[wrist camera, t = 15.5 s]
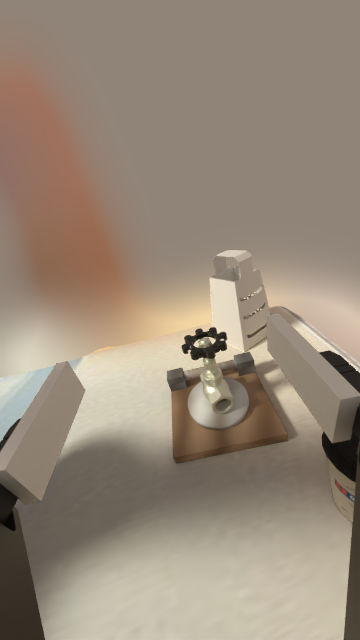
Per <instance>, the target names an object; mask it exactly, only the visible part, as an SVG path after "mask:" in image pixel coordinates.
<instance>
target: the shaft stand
mask: <svg viewBox="0 0 360 640" xmlns="http://www.w3.org/2000/svg"><path fill="white" fill-rule="evenodd" d="M216 366H217V367H218V368H220V369H221V371H222V375H223V379H225V380H226V382H227V383H228V385H229V390H230V393H231V394H232V396H233V400H234V406H233V408H232V409H230V410H229V411H228V412H226V413H214V412H213V409H212V407H211V404H210V402H209V401H208V400H207V399H206V397H205V396H204V393H203V385H202V382H201V378H200V375H201V374H202V373H203V371H204V370H205V367H200V368H196V369H192V370H188V371H183V368H179V369H174V370H170V371H167V381H168V384H169V386H170V389H171V392H172V432H173V458H174V460H175V463H180V462H185V461H190V460H195V459H200V458H205V457H209V456H214V455H219V454H224V453H229V452H234V451H239V450H244V449H249V448H254V447H259V446H264V445H268V444H273V443H278V442H283V441H288V435H287V432H286V430H285V428H284V426H283V424H282V422H281V421H280V419H279V417H278V415H277V413H276V411H275V409H274V407H273V405H272V403H271V401H270V399H269V398H268V396H267V394H266V392H265V390H264V388H263V386H262V384H261V382H260V380H259V378H258V376H257V374H256V373H255V365H254V359H253V357H252V355H251V354H250V352H247V353H243V354H238V355H234V360H230V361H226V362H222V363H218V364H216Z"/></svg>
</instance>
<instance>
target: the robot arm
mask: <svg viewBox="0 0 360 640" xmlns="http://www.w3.org/2000/svg"><path fill="white" fill-rule="evenodd" d="M266 320H267V346H268V351H269V353H270V354H271V355H272V357H273V358H274V360H275V361H276V363H277V364H278V366H279V367H280V368H281V370H282V371H283V373H284V374H285V376H286V377H287V379H288V380H289V382H290V383H291V384H292V386H293V387H294V389H295V390H296V392H297V393H298V395H299V396H300V397H301V399H302V400H303V402H304V403H305V405H306V406H307V408H308V409H309V411H310V412H311V413H312V415H313V416H314V418H315V419H316V421H317V422H318V424H319V425H320V427H321V428H322V429H323V431H324V432H325V434H326V435H327V437H328V438H329V440H330V441H331V442H332V443H336V442H341V441H346V440H350V439H351V435H352V431H353V432H354V434H355V435H356V436H357V437H358V439H359V440H360V373H359V372H358V371H356V369H355V368H354V367H352V366H351V365H349V363H348V362H347V361H346V360H345V359H343V358H342V357H341V356H340V355H338V354H336V353H334V352H331V351H325V352H320V353H319V352H318V351H317V350H316V349H315V348H314V347H313V346H311V345H310V344H309V343H308V342H307V341H306V340H305V339H304V338H303V337H302V336H301V335H300V334H299V333H298V332H297V331H296V330H295V329H294V328H293V327H292V326H291V325H290V324H289V323H288V322H287V321H286V320H285V319H284V318H283V317H282V316H281V315H280V314H279V313H275V314H270V315H266ZM84 393H85V389H84V387H83V386H82V384H81V382H80V381H79V379H78V377H77V376H76V374H75V373H74V371H73V369H72V368H71V366H70V364H69V363H68V361H66V362H62V363H57V364H56V365H55V367H54V368H53V370H52V371H51V373H50V374H49V376H48V378H47V379H46V381H45V382H44V384H43V386H42V387H41V389H40V390H39V392H38V393H37V395H36V397H35V398H34V400H33V401H32V403H31V404H30V406H29V408H28V409H27V411H26V412H25V414H24V415H23V417H22V418H21V419H18V420H17V421H16V422H15V423H14V424H13V425H12V426H11V427H10V429H9V430H8V432H7V433H6V435H5V436H4V438H3V440H2V441H1V442H0V640H45V637H44V632H43V627H42V623H41V618H40V613H39V609H38V604H37V599H36V594H35V590H34V585H33V580H32V576H31V571H30V566H29V561H28V557H27V552H26V547H25V542H24V538H23V533H22V528H21V524H20V519H19V514H18V511H17V509H16V508H15V507H14V506H15V504H16V501H17V499H19V500H21V501H22V502H23V503H24V504H30V503H35V502H40V501H42V498H43V496H44V493H45V491H46V488H47V486H48V483H49V481H50V478H51V476H52V473H53V471H54V468H55V466H56V463H57V461H58V458H59V456H60V453H61V451H62V448H63V446H64V443H65V441H66V438H67V435H68V433H69V430H70V428H71V425H72V423H73V420H74V418H75V415H76V413H77V410H78V408H79V405H80V403H81V400H82V398H83V395H84ZM356 454H357V455H358V459H357V472H356V485H355V498H354V511H353V525H352V538H351V551H350V564H349V577H348V591H347V604H346V617H345V630H344V640H360V441H359V444H358V448H357V451H356Z"/></svg>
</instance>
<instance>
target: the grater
mask: <svg viewBox="0 0 360 640" xmlns="http://www.w3.org/2000/svg"><path fill="white" fill-rule="evenodd" d="M226 257H235V258H236V259H237V260H238V262H239V266H232V267H230V268H228V269H227V263H226ZM213 262H214V267H215V273H216V275H214V276H212V277H210V294H211V316H212V327H215V328H216V329H217V334H219V333H220V332H226V334H227V340H226V344H228V345H230V346H232V347H234V348H236V349H238V350H240V351H242V352H244V353H245V352H246V351H247V350H249V349H250V348H251V347H253V346H254V345H255V344H257V343H258V342H259V341H261V340H262V339H263V338H265V337H266V336H267V320H266V315H270V310H269V306H268V302H267V298H266V294H265V290H264V286H263V282H262V278H261V274H260V269H259V268H253V263H252V256H251V254H250V253H249V252H248V251H237V250H227V251H225V252H222V253H221V254H218V255H216V256H215V257H214V260H213ZM240 274H241V277H240ZM255 291H256V293H253V292H255ZM257 291H259V293H257ZM251 294H253V295H254V296H251ZM248 295H250V296H248ZM245 297H249V299H247V298H246V299H244V298H245ZM257 309H259V310H258V311H257ZM260 309H262V310H260ZM254 311H256V312H257V313H256V314H255V312H254ZM251 313H252V316H251V315H250V314H251ZM253 314H254V315H253ZM248 316H250V318H249V317H248ZM262 326H264V327H265V328H264V329H262V330H261V331H260V332H258V333H257V334H256V335H254V336H253V337H251V338H248V335H251V334H253V333H254V332H255V331H257V330H258V329H260V328H261V327H262ZM247 334H248V335H247ZM221 340H224V339H221ZM221 340H220V341H221Z"/></svg>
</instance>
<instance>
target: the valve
mask: <svg viewBox="0 0 360 640" xmlns="http://www.w3.org/2000/svg"><path fill="white" fill-rule="evenodd" d="M195 333H196V335H195V336H191V335H187V336H185V337H184V339H185V343H186V344H183V345H182V350H183V353H184V354H188V350H191V352H190V354H191V358H192V359H193V360H197V359H199V358H202V357H203V358H204V359H203V363H204V366H205V370H204V371H203V373H202V374H201V375H200V378H201V382H202V385H203V393H204V396H205V397H206V399H207V400H208V401H209V402H210V404H211V407H212V409H213V412H214V413H226V412H228V411H229V410H230V409H232V408H233V406H234V400H233V396H232V394H231V393H230V390H229V385H228V383H227V382H226V380H225V379H223V375H222V371H221V369H220V368H218V367H217V366H216V362H215V359H214V358H215V353H217V352H219V351H220V349H221V351H225V350H226V349H227V344H226V340H227V334H226V332H220V333H219V334H217V329H216V328H215V327H212V328H210V329H209V331H208V332H203V330H202V329H197V330H196V331H195ZM203 337H212V338H214V339H216V341H215V343H214V344H213V345H212V343H211V341H210V339H209V338H203ZM198 339H200V340H199V341H198V343H199V348H197V347H195V346H194V343H195V341H197V340H198ZM221 339H224V340H221ZM220 340H221V341H220Z"/></svg>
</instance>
